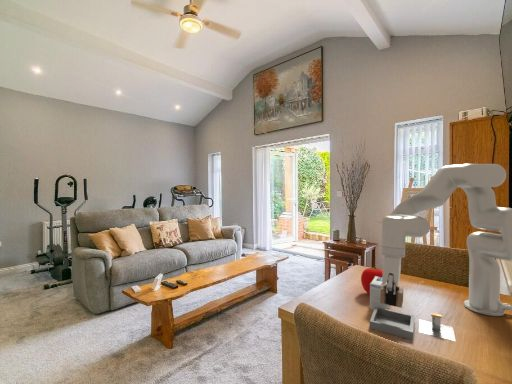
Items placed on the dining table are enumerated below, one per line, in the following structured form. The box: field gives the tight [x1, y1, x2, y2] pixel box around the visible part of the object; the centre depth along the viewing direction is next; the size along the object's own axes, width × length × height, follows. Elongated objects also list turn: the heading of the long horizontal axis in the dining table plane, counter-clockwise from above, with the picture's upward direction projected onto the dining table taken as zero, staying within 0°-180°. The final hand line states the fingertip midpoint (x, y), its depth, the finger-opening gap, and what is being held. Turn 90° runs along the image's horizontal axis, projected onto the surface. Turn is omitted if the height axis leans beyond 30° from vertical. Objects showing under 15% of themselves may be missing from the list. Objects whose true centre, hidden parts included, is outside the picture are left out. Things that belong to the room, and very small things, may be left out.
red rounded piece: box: [360, 266, 383, 295], centre depth 121 cm, size 11×11×13 cm
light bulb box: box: [369, 276, 390, 310], centre depth 110 cm, size 11×7×11 cm, turn 145°
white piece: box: [418, 312, 456, 342], centre depth 90 cm, size 10×10×6 cm
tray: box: [369, 307, 415, 341], centre depth 93 cm, size 13×13×4 cm
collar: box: [380, 284, 404, 308], centre depth 93 cm, size 7×7×5 cm
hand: (391, 300), depth 93 cm, fingers closed on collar, 6 cm apart
